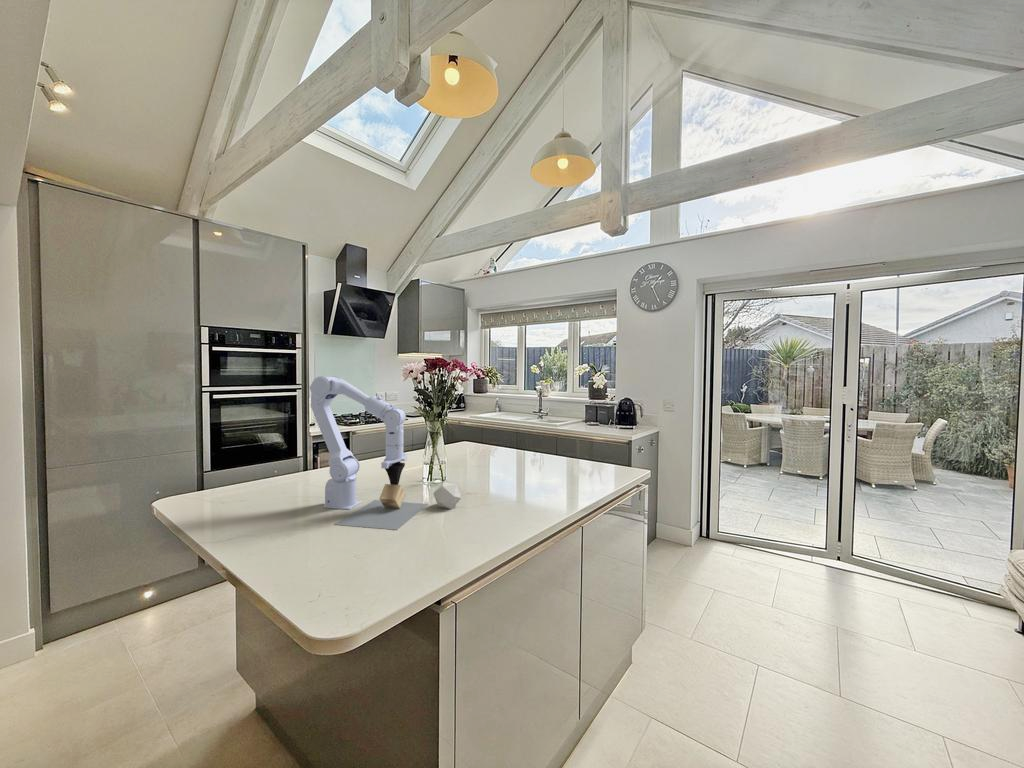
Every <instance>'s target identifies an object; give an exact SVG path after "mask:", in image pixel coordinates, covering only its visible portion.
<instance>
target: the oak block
mask: <svg viewBox="0 0 1024 768" xmlns="http://www.w3.org/2000/svg"><path fill="white" fill-rule="evenodd" d="M405 497H406V493H405V490H404V488H403V487H402V485H401V484H398V485H392V484H390V483H389V484H388V483H385V484H384V486H383V489H382V491H381V494H380V496H379V498H378V500H380V501H381V502H382V504H383V506H384V507H385V508H396V509H400V508H401V505H402V502H404V499H405Z"/></svg>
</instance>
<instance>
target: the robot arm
mask: <svg viewBox="0 0 1024 768" xmlns="http://www.w3.org/2000/svg"><path fill="white" fill-rule="evenodd" d="M309 390H310V392H311V395H310V408H311V410H312V413H313V415H314V418H315V420H316V423H317V425H318V428H319V431H320V433H321V435H322V438H323V441H324V443H325V445H326V448H327V450H328V452H329V455H330V456H329V458H328V462H327V463H328V465H329V475H330V477H331V478H330V479H328V480H327V481H326V483H325V486H324V505H323V508H325V509H339V510H351V509H353V508H354V507H356V506H357V505H359V504H361V503H362V500H357V473H358V472H359V471H360V462H359V460H358V459H357V458H356V457H355V456H354V454H353V452H352V451H351V450H349V448H347V446H346V444H345V441H344V438H343V436H342V434H341V431H340V428H339V426H338V424H337V421H336V419H335V416H334V414H333V411H332V409H331V404H332V402H333V401H334V399H335V398H336V397H337V396H338V395H344V396H346V397H348V398H350V399H351V400H353V401H355V402H358V403H359V404H361V405H363V406H364V410H365V411H366V412H368V413H369V414H371V415H372V416H374V417H376V418H378V419H379V420H381V421H382V422H383V424H384V425H385V458H384V459H383V461H382V462H381V464H380V465H381V466H380V467H381V469H384V470H385V472H386V474H387V476H388V478H389V484H392V485H400V484H399V483H400V479H401V475H402V472H403V470H404V468H405V466H406V463H405V461H406V462H407V460H408V459H407V457H408V456H407V455H408V454H407V453H404V441H405V440H404V433H405V432H404V423H405V421H406V419H407V414H406V412H405V411H404V410H403V409H402V408H401V407H395V405H394V404H393V403H391V404H390V403H388V402H386V401H385V400H383V397H382V396H380V395H379V396H377V395H373V396H369V395H367V394H366V393H365V392H363V391H361V390H360V389H359V388H357V387H355V386H354V385H352V384H351V383H349V382H348V381H347V380H345V379H343V378H340V377H339V376H336V375H332V376H331V375H330V376H324V375H322V376H317V377H315V378H314V379H313V381H312V382H311V384H310V385H309Z"/></svg>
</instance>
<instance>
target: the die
mask: <svg viewBox="0 0 1024 768" xmlns="http://www.w3.org/2000/svg"><path fill="white" fill-rule="evenodd" d="M433 497H434V500H435V503H436V505H437V507H439V508H443V509H449V510H452V509H454V507H455V506H456V505H457V504H458V503H459V502H460V501H461V499H462V495H461V493H460V491H459V488H458V485H457V483H456V484H455V483H450V482H442V484H440V486H438V488H437V489H436V490H435V491H434V492H433Z"/></svg>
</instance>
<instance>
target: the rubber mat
mask: <svg viewBox="0 0 1024 768" xmlns="http://www.w3.org/2000/svg"><path fill="white" fill-rule="evenodd" d="M428 505H429V503H421V502H420V503H419V502H408V501H407V502H406V501H403V502H402V505H401V508H400V509H396V508H385V507H384V506H383V504H382V502H381V501H380V499H378V500H372V501H371V502H369V503H367V504H365V505H364V506H362V507H361V508H359V509H357V510H355V511H354V512H352V513H351V514H349V515H347V516H345V517H343V519H341V520H339V521H337V522H335V523H334V524H333V525H334V526H339V527H340V526H341V527H352V528H353V527H354V528H364V529H376V530H377V529H378V530H389V531H398V530H399V529H400V528H402V526H404V525H405V524H406V523H408V522H409V521H410V520H411V519H413V518H414V517H415V516H416V515H418V514H419V513H420V512H421V511H422V510H424V509H425V508H426V507H427V506H428Z"/></svg>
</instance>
